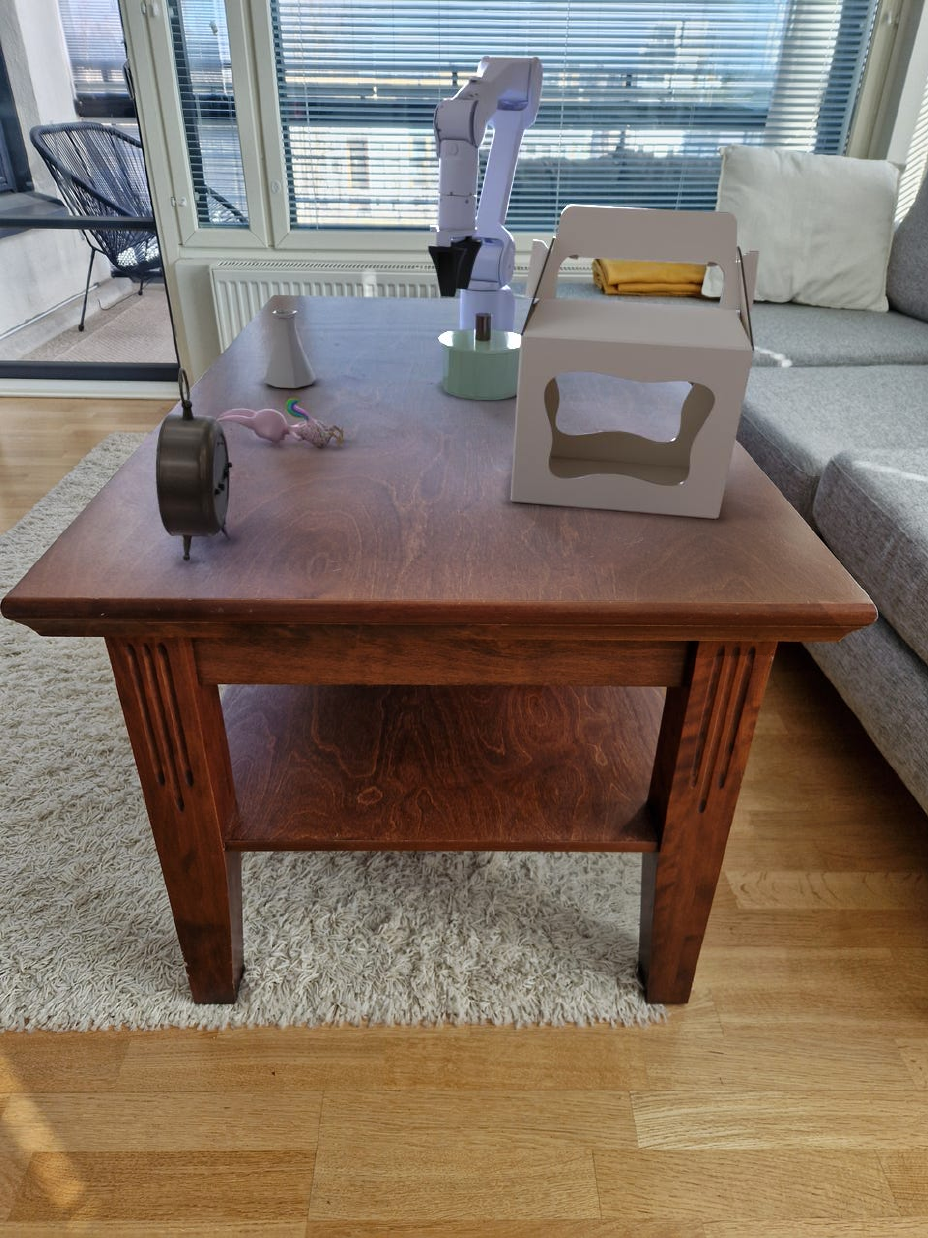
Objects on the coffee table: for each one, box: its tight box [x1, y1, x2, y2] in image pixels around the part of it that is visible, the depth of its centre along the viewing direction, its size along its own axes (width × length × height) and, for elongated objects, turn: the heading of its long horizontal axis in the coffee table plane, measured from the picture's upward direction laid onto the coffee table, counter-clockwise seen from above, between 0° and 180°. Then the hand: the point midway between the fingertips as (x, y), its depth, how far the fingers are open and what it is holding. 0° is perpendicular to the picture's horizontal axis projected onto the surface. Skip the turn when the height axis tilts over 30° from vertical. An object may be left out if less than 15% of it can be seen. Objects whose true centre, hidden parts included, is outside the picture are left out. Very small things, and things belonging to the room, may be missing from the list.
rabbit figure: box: [216, 397, 345, 449], centre depth 99 cm, size 6×6×15 cm
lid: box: [438, 313, 521, 354], centre depth 118 cm, size 13×13×4 cm
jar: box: [442, 346, 520, 401], centre depth 120 cm, size 12×12×6 cm
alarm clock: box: [155, 367, 233, 562], centre depth 74 cm, size 11×5×16 cm, turn 5°
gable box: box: [510, 204, 760, 520], centre depth 85 cm, size 22×13×28 cm, turn 82°
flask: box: [263, 308, 317, 389], centre depth 119 cm, size 7×7×10 cm
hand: (454, 292), depth 129 cm, fingers open, 7 cm apart
